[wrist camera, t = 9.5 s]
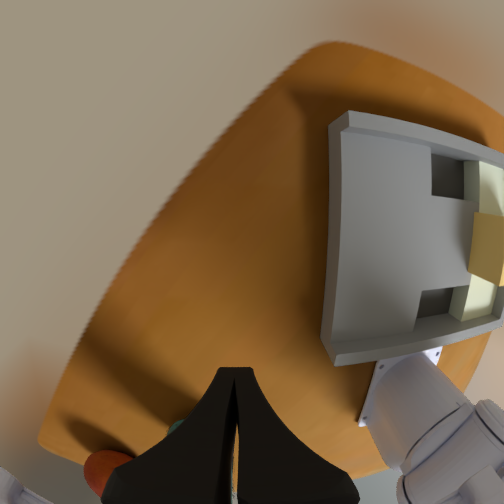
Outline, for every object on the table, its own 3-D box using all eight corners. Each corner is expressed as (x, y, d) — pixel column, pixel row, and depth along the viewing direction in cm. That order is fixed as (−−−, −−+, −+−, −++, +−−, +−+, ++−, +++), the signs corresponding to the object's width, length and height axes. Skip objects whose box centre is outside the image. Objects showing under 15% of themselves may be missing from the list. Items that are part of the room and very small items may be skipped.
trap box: (479, 312, 21) (501, 326, 17) (319, 338, 20) (334, 366, 16) (495, 162, 18) (522, 162, 14) (328, 125, 17) (348, 110, 13)
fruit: (89, 430, 23) (66, 474, 15) (155, 454, 24) (142, 505, 16) (97, 461, 25) (81, 499, 17) (155, 481, 26) (145, 523, 18)
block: (496, 268, 17) (525, 281, 13) (467, 271, 17) (499, 286, 13) (503, 215, 16) (533, 222, 12) (474, 211, 16) (508, 218, 12)
